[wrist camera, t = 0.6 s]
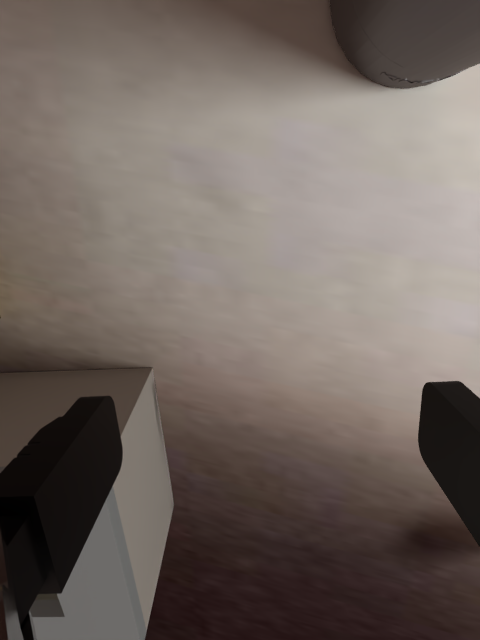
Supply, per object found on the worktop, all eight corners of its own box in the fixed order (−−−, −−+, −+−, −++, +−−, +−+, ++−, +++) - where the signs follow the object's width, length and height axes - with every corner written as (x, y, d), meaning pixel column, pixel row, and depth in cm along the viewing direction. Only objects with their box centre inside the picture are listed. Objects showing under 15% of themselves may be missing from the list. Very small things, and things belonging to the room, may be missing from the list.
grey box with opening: (-27, 373, 29) (-172, 485, 19) (152, 367, 29) (100, 479, 19) (21, 507, 35) (-72, 649, 25) (174, 504, 34) (142, 648, 24)
